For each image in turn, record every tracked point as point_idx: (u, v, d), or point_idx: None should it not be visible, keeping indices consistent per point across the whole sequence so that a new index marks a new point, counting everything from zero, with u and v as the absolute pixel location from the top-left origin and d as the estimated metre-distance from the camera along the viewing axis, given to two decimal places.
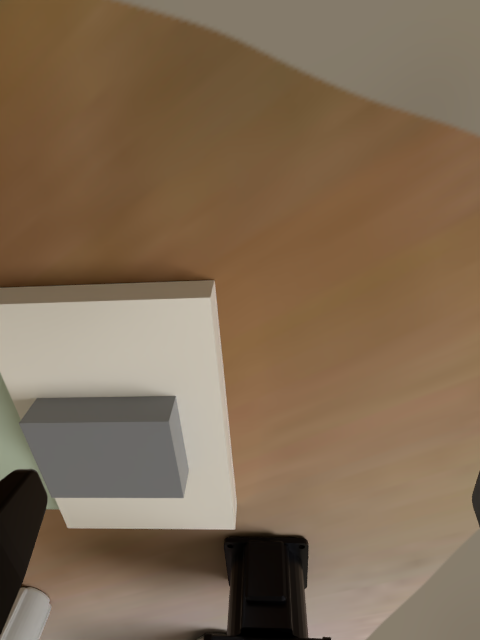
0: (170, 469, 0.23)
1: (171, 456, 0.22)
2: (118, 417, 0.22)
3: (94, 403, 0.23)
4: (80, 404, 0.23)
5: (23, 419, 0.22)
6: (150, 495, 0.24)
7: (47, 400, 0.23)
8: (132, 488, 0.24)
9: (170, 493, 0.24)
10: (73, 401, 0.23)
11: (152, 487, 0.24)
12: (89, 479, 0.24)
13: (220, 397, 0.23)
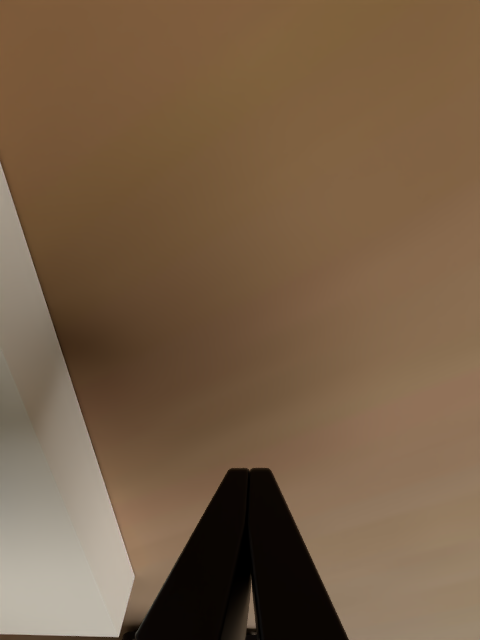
0: None
1: None
2: None
3: None
4: None
5: None
6: None
7: None
8: None
9: None
10: None
11: None
12: None
13: None
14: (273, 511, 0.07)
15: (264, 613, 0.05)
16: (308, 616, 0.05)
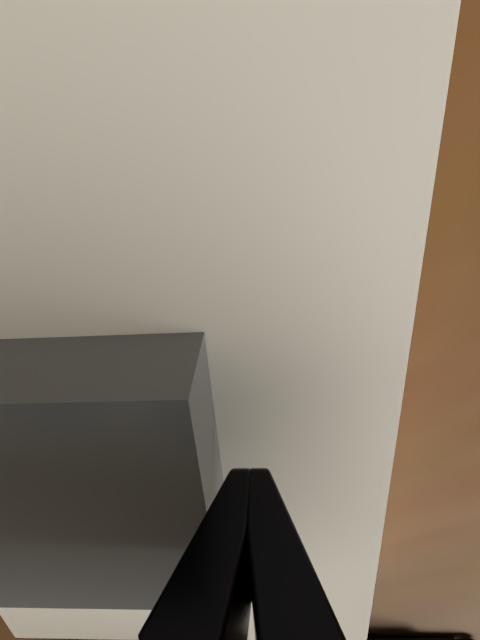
0: None
1: (193, 508, 0.07)
2: (27, 391, 0.07)
3: None
4: None
5: None
6: (136, 604, 0.09)
7: None
8: (86, 588, 0.09)
9: None
10: None
11: (139, 586, 0.09)
12: None
13: (408, 332, 0.08)
14: (271, 511, 0.07)
15: (262, 613, 0.05)
16: (306, 616, 0.05)
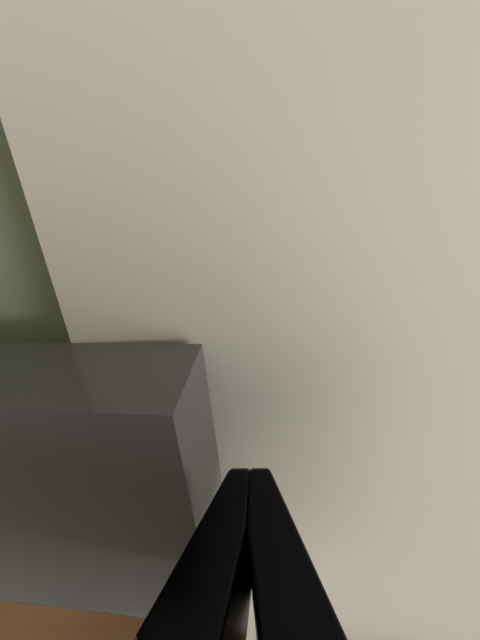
0: None
1: (182, 523, 0.07)
2: (21, 397, 0.07)
3: None
4: None
5: None
6: (131, 611, 0.09)
7: None
8: (83, 590, 0.09)
9: None
10: None
11: (133, 594, 0.09)
12: None
13: None
14: (272, 511, 0.07)
15: (263, 613, 0.05)
16: (307, 616, 0.05)
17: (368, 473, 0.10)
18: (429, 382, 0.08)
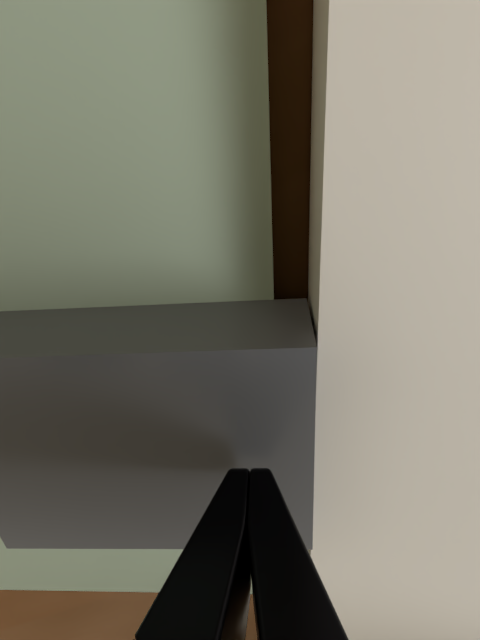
0: (294, 483, 0.09)
1: (303, 449, 0.09)
2: (171, 343, 0.08)
3: (104, 318, 0.09)
4: (69, 319, 0.09)
5: None
6: None
7: None
8: (193, 528, 0.10)
9: None
10: (51, 315, 0.09)
11: None
12: (92, 508, 0.10)
13: None
14: (273, 511, 0.07)
15: (264, 613, 0.05)
16: (308, 616, 0.05)
17: None
18: None
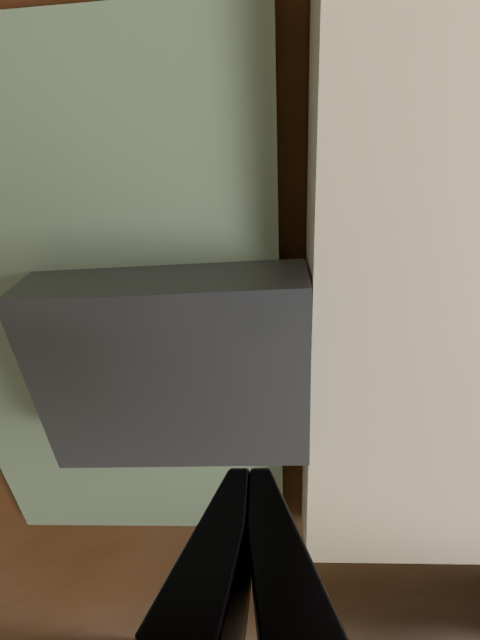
0: (294, 404, 0.12)
1: (301, 374, 0.11)
2: (201, 287, 0.10)
3: (145, 273, 0.11)
4: (118, 274, 0.11)
5: (3, 297, 0.11)
6: (247, 461, 0.13)
7: (51, 273, 0.12)
8: (213, 446, 0.13)
9: (284, 455, 0.13)
10: (102, 272, 0.12)
11: (252, 444, 0.12)
12: (132, 429, 0.12)
13: None
14: (273, 511, 0.07)
15: (264, 613, 0.05)
16: (308, 616, 0.05)
17: None
18: None
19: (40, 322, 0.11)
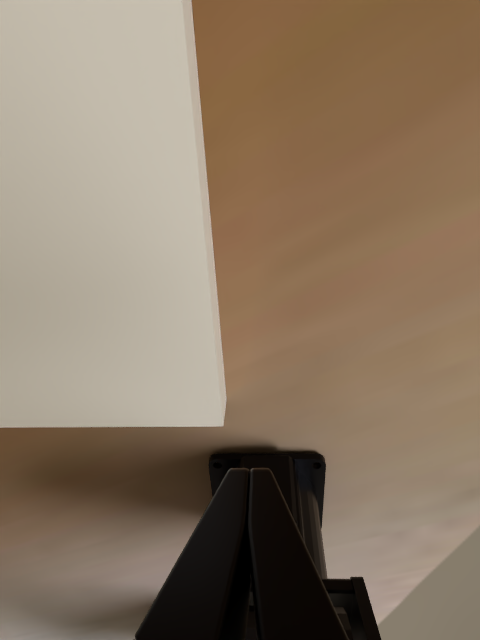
0: None
1: None
2: None
3: None
4: None
5: None
6: None
7: None
8: None
9: None
10: None
11: None
12: None
13: (197, 168, 0.14)
14: (273, 511, 0.07)
15: (264, 613, 0.05)
16: (308, 616, 0.05)
17: (61, 274, 0.16)
18: (69, 206, 0.15)
19: None
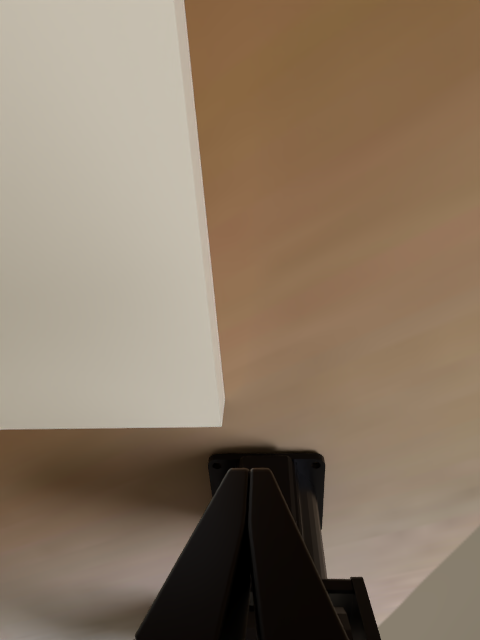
0: None
1: None
2: None
3: None
4: None
5: None
6: None
7: None
8: None
9: None
10: None
11: None
12: None
13: (191, 169, 0.14)
14: (273, 511, 0.07)
15: (264, 613, 0.05)
16: (308, 616, 0.05)
17: (58, 276, 0.16)
18: (64, 208, 0.15)
19: None
